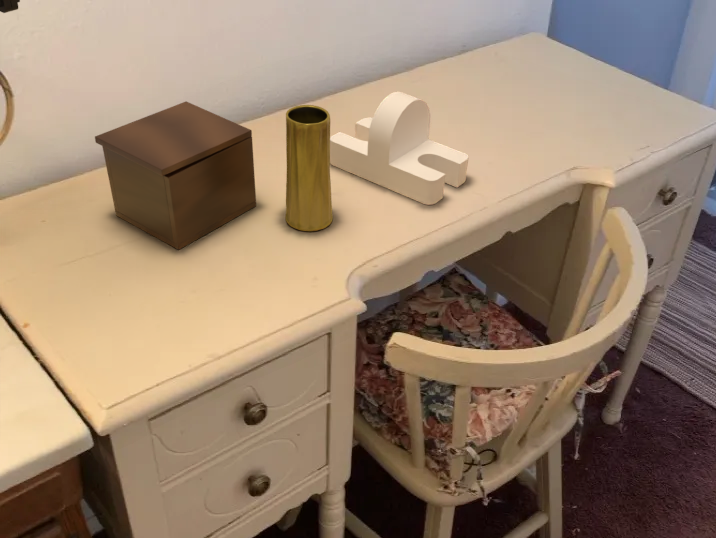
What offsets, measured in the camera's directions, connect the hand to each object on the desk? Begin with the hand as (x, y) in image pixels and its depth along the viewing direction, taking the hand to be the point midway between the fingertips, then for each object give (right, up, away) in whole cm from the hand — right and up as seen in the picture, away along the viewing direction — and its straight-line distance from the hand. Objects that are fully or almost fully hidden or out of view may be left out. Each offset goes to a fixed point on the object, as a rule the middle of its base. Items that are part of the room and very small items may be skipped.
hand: (5, 9), depth 81 cm
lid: (+12, -7, +20) cm, 24 cm away
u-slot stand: (+39, -6, +37) cm, 54 cm away
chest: (+11, -14, +27) cm, 32 cm away
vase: (+27, -15, +27) cm, 41 cm away
